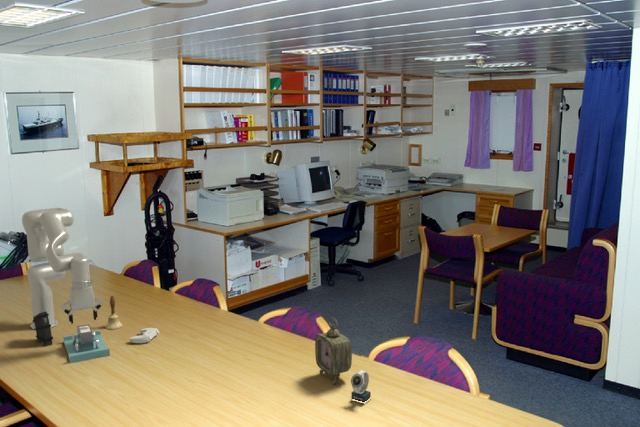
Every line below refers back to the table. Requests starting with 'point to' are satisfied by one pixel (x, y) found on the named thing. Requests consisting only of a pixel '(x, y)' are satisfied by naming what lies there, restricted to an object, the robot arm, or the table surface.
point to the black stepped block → (43, 328)
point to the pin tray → (78, 355)
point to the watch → (360, 386)
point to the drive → (85, 338)
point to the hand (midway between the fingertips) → (83, 320)
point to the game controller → (144, 335)
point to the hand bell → (113, 317)
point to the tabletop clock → (333, 352)
